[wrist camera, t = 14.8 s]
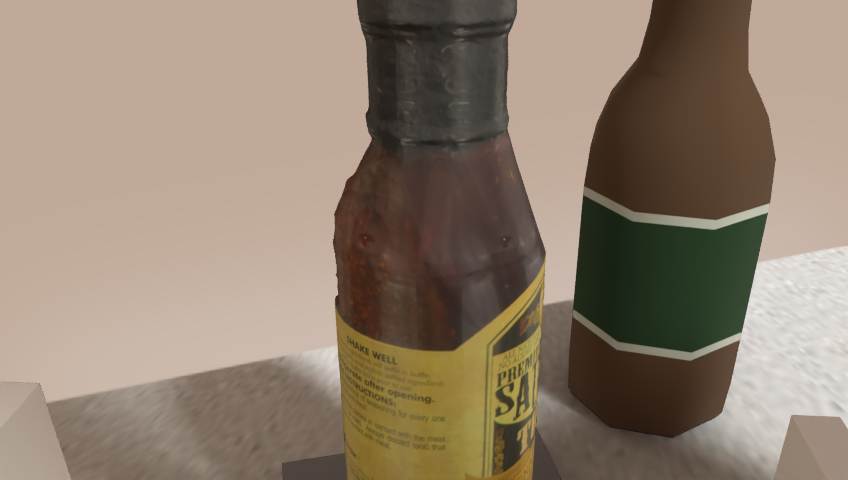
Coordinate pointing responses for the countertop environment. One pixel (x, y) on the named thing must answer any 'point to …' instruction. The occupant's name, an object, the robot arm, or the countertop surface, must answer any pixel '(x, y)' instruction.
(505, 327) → the sauce bottle
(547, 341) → the countertop surface
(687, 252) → the beer bottle
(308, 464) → the rubber mat
